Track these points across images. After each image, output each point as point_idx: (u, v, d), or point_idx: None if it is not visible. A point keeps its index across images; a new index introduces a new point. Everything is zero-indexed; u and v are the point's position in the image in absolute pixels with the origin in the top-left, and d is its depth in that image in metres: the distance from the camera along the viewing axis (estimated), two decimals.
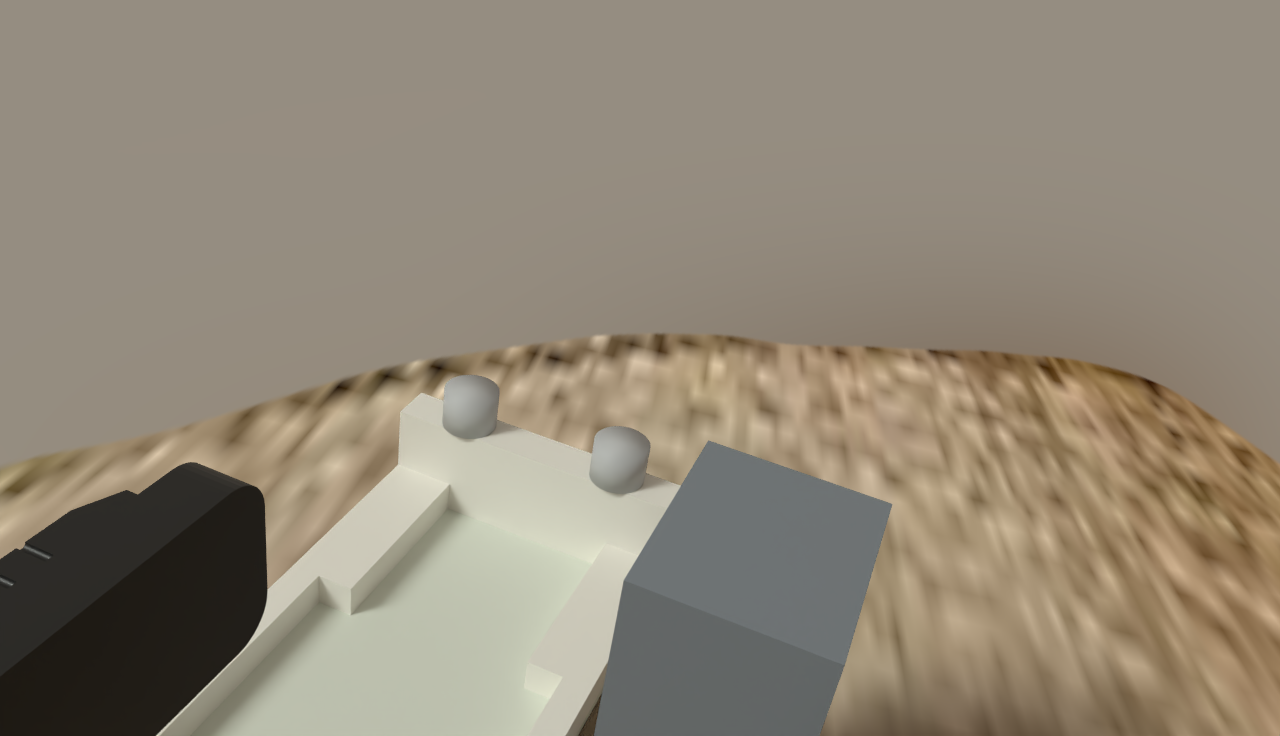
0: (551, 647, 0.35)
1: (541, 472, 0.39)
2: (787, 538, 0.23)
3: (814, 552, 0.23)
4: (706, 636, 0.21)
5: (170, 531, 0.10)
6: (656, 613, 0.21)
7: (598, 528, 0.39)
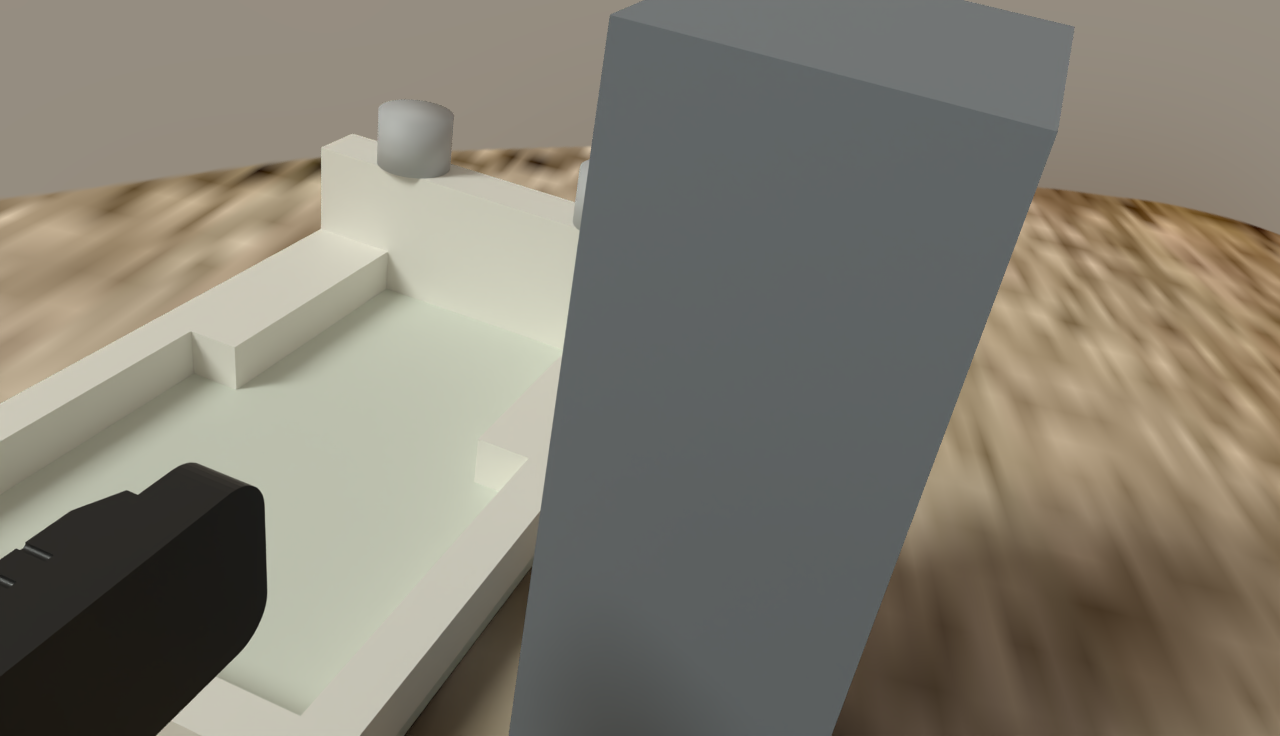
0: (513, 424, 0.24)
1: (508, 220, 0.29)
2: (909, 26, 0.13)
3: (958, 40, 0.12)
4: (769, 122, 0.11)
5: (170, 531, 0.10)
6: (672, 84, 0.11)
7: None
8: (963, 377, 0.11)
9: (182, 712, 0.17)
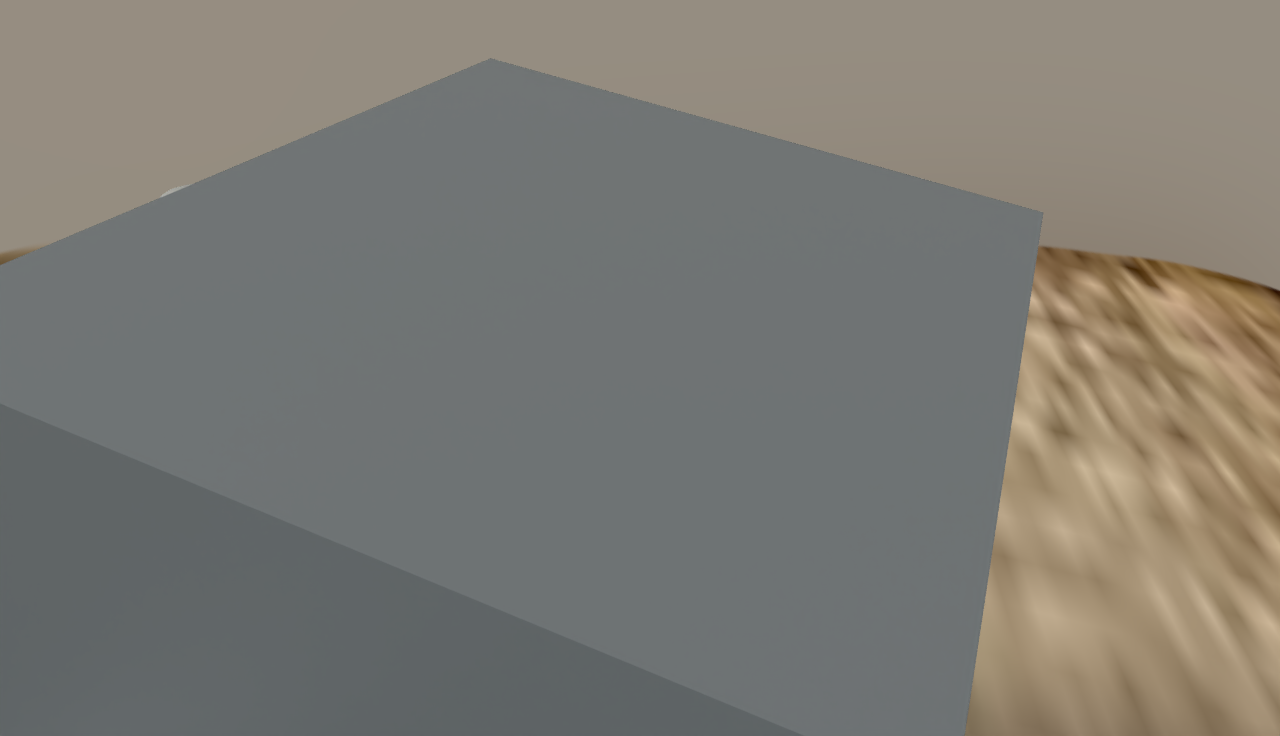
0: None
1: None
2: (692, 259, 0.06)
3: (790, 302, 0.06)
4: (231, 621, 0.04)
5: None
6: (8, 506, 0.04)
7: None
8: None
9: None
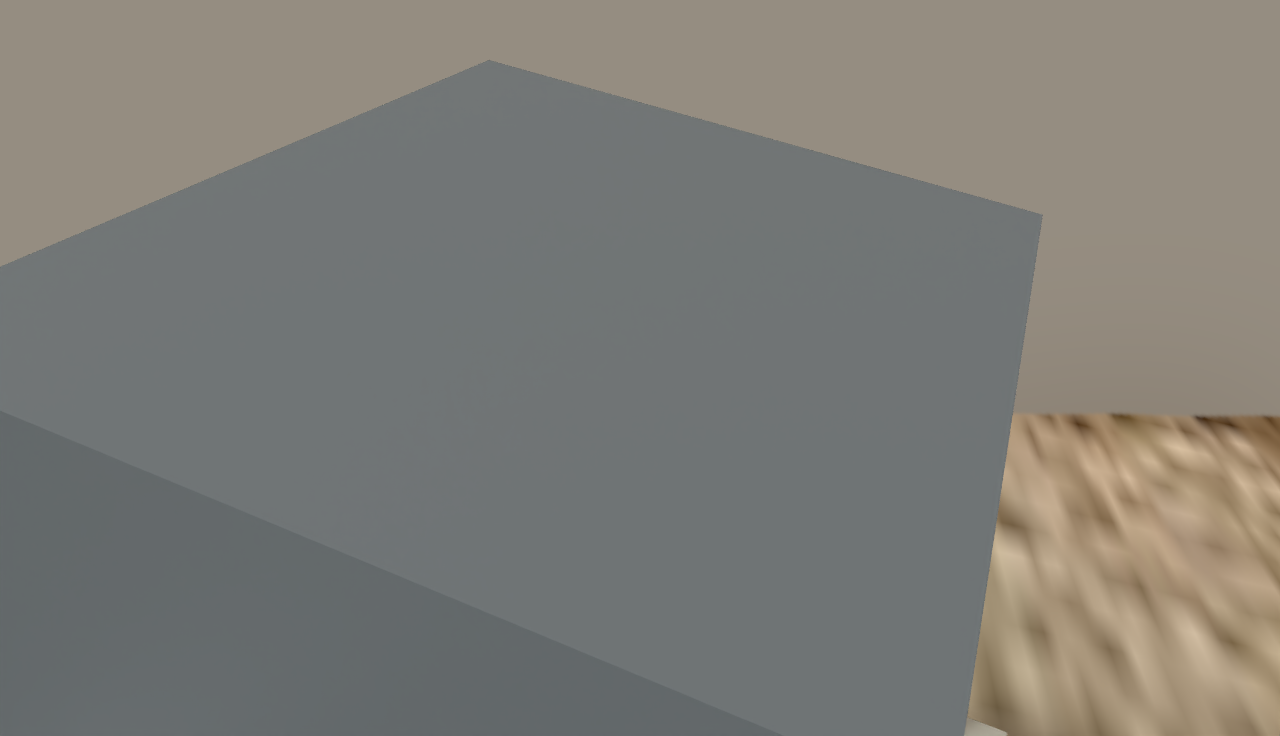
0: None
1: None
2: (690, 262, 0.06)
3: (788, 305, 0.06)
4: (226, 627, 0.04)
5: None
6: (3, 511, 0.04)
7: None
8: None
9: None
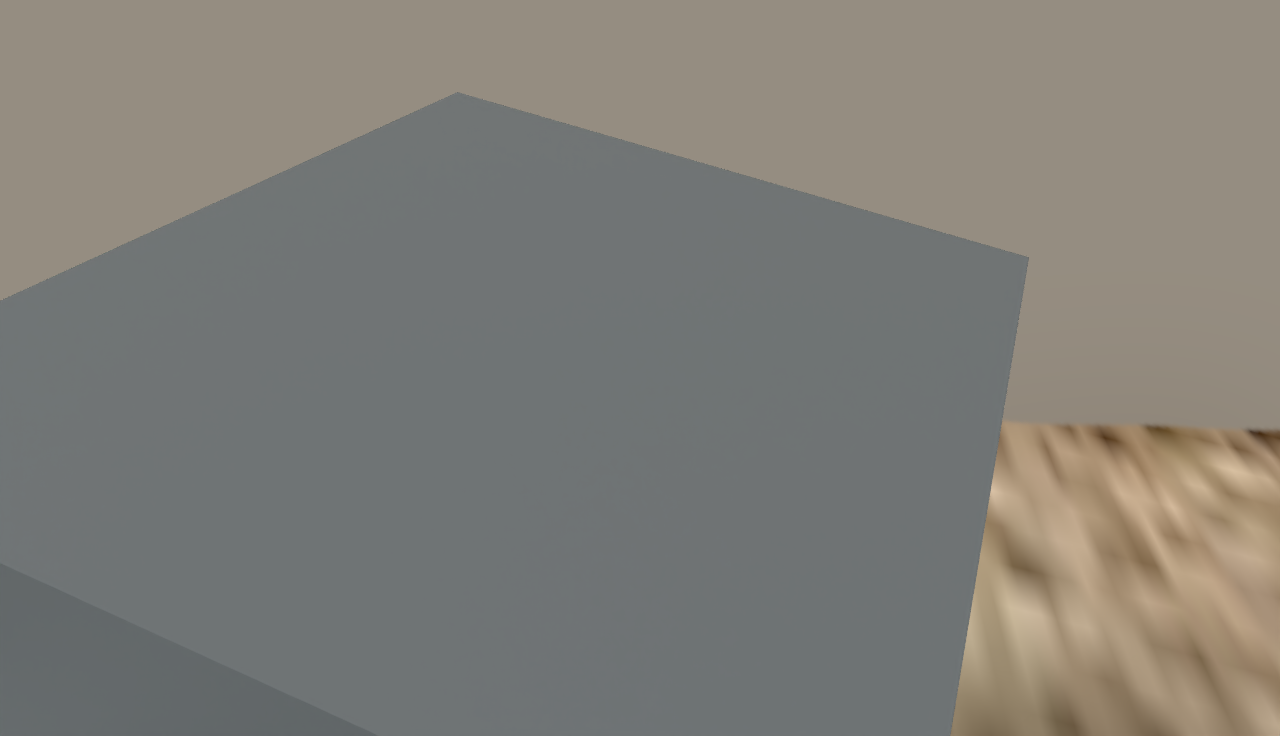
0: None
1: None
2: (654, 321, 0.06)
3: (756, 368, 0.06)
4: None
5: None
6: None
7: None
8: None
9: None
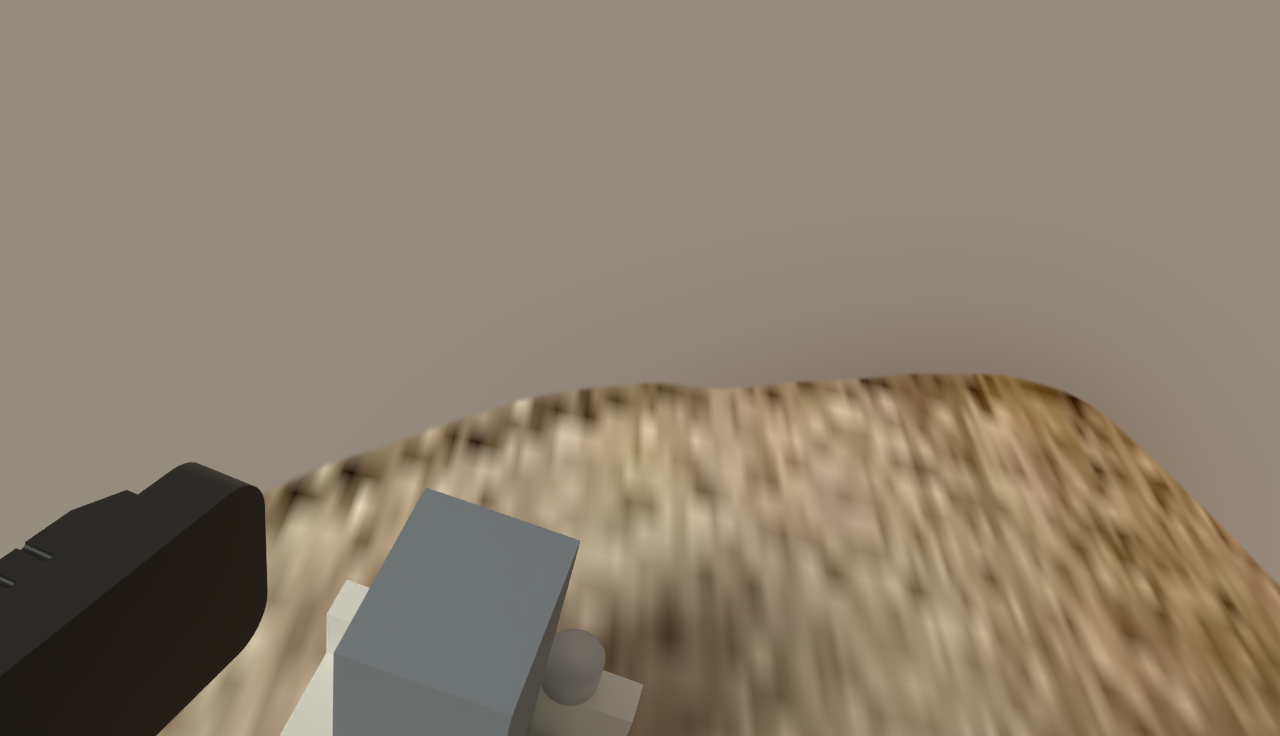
0: None
1: None
2: (483, 590, 0.27)
3: (504, 602, 0.27)
4: (405, 692, 0.26)
5: (170, 531, 0.10)
6: (364, 675, 0.26)
7: (550, 724, 0.37)
8: None
9: None
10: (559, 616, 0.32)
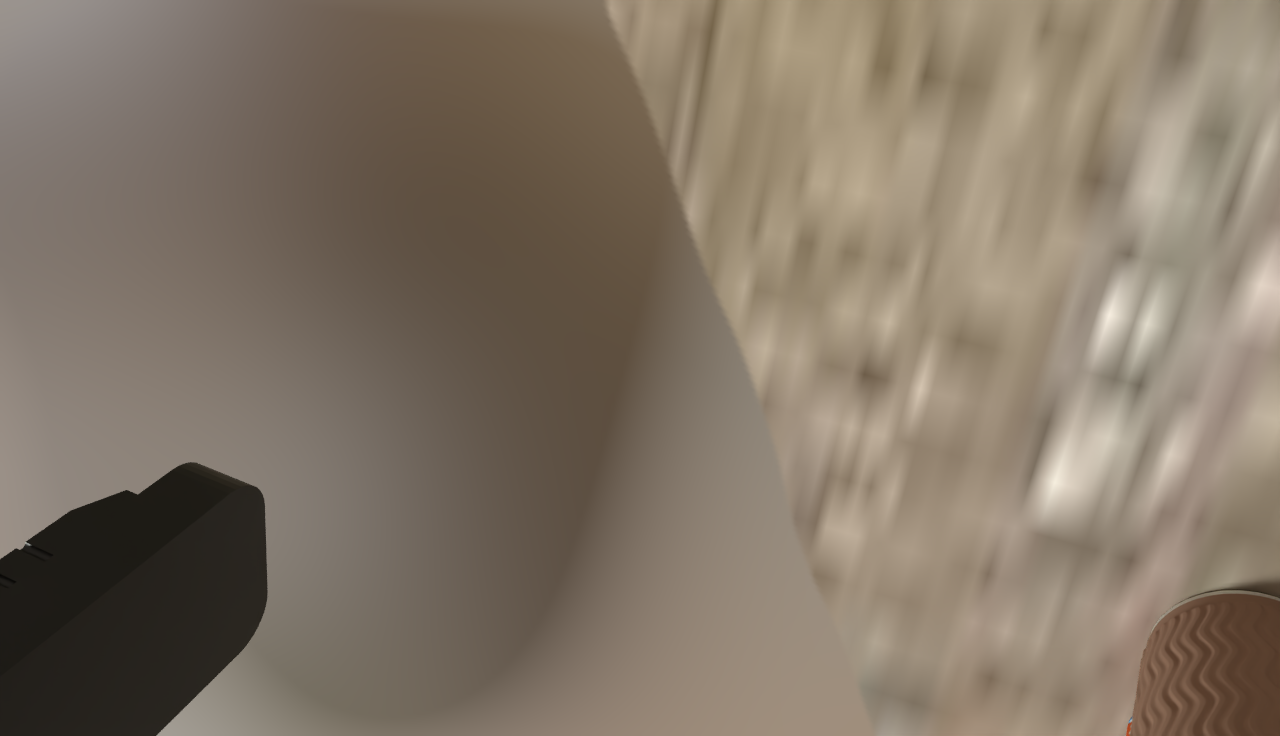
0: None
1: None
2: None
3: None
4: None
5: (170, 531, 0.10)
6: None
7: None
8: None
9: None
10: None
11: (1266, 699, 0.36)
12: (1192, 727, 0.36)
